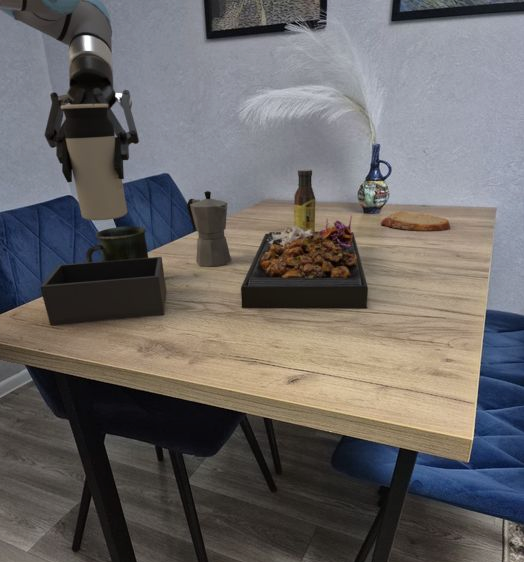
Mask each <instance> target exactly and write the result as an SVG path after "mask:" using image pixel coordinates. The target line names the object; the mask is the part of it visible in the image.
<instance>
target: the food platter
mask: <svg viewBox="0 0 524 562" xmlns="http://www.w3.org/2000/svg"><path fill="white" fill-rule="evenodd" d="M352 218H353V215H350V219H349V223H348V225H347V226H346V225H345V223H343V221H341V220H338V219H336V220H335V221H334V222H333V226H332V227H328V225H330V224H329V222H328V221H329V220H328V218H325V222H324V224H325V225H324V226H325V229H321V230H320V231H315V232H313V231H311V229H310V230H308V231H305V232H304V231H303V229H300V228H298V227H296V226H294V225H293V226H291V225H290V226H289V225H288V226H285V227H284V230H283V231H277V230H275V231H270V232H268V233H265V234H264V236H263V238H262V239H261V243H260V245H259V247H258V249H257V251H256V254H255V255H254V258H253V260H252V262H251V264H250V267H249V269H248V271H247V273H246V275H245V277H244V279H243V282H242V284H241V286H240V297H241V300H240V301H241V308H242V309H368V297H369V296H368V293H369V287H368V283H367V279H366V274H365V272H364V268H363V264H362V260H361V256H360V252H359V248H358V245H357V241H356V236H355V233H354V232H353V231H352V229H351V225H352Z"/></svg>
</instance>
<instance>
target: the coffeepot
mask: <svg viewBox="0 0 524 562" xmlns="http://www.w3.org/2000/svg"><path fill="white" fill-rule="evenodd" d="M211 195H212V192H211V191H210V190H206V191H204V196H205V198H204V199H195V198H189V199H188V201H187V203H186V209H187V212H188V216H189V219H190V222H191V226H192V229H193V231H194V232H197V234H198V235H197V236H198V238H197V239H196V240H197V241H196V242H197V243H196V259H195V260H196V261H195V262H196V264H197V265H198V266H200V267H206V268H214V267H215V268H216V267H221V266H226V265H228V264H229V263H230V262H231V261H232V258H231V254H230V249H229V246H228V241H227V238H226V236H225V231H226V230H227V229H226V228H227V215H228V214H227V213H228V202H227V201H224V200H220V199H215V198H211Z"/></svg>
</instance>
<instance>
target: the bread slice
mask: <svg viewBox="0 0 524 562" xmlns="http://www.w3.org/2000/svg"><path fill="white" fill-rule="evenodd" d="M381 224H383V225H382V226H385V225H386V226H385V227H388V228H390V227H392V228H391V229H395V228H398V229H397V230H402V229H406V230H405V231H416V230H417V231H418V232H437V231H444V230H449V229H451V224H450V221H449V220H448V219H447V218H444V217H440V216H435V215H429V214H421V213H414V212H413V213H412V212H405V211H398V212H394V213H391V214H390V215H388V216H386V217H385V218H383V219H382V220H381V222H380V225H381ZM417 231H416V232H417Z"/></svg>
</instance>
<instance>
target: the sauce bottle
mask: <svg viewBox="0 0 524 562" xmlns="http://www.w3.org/2000/svg"><path fill="white" fill-rule="evenodd" d="M297 177H298V183H297V186H298V187H297V189H296V191H295V193H294V198H293V200H294V204H293V227H294V226H296V227H298V228H300V229H303V231H304V232H305V231H308V230H310V229H311V231H313V232H316V196H315V192H314V189H313V186H312V177H313V170H312V169H298V170H297Z"/></svg>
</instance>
